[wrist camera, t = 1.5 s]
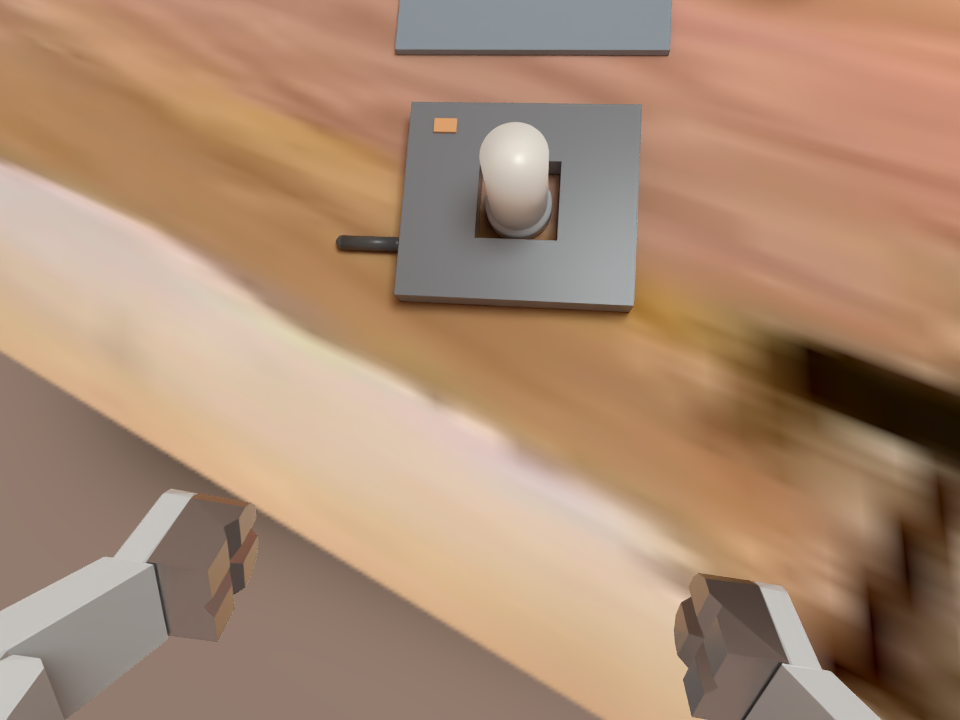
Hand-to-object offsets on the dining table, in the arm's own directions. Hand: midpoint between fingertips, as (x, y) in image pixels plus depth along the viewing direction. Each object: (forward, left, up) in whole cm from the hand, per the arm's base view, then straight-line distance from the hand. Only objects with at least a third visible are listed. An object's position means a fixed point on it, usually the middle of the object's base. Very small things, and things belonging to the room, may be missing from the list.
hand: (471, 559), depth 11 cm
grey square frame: (+4, -18, -30) cm, 35 cm away
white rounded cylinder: (+1, -18, -30) cm, 35 cm away
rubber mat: (+1, -36, -30) cm, 47 cm away
